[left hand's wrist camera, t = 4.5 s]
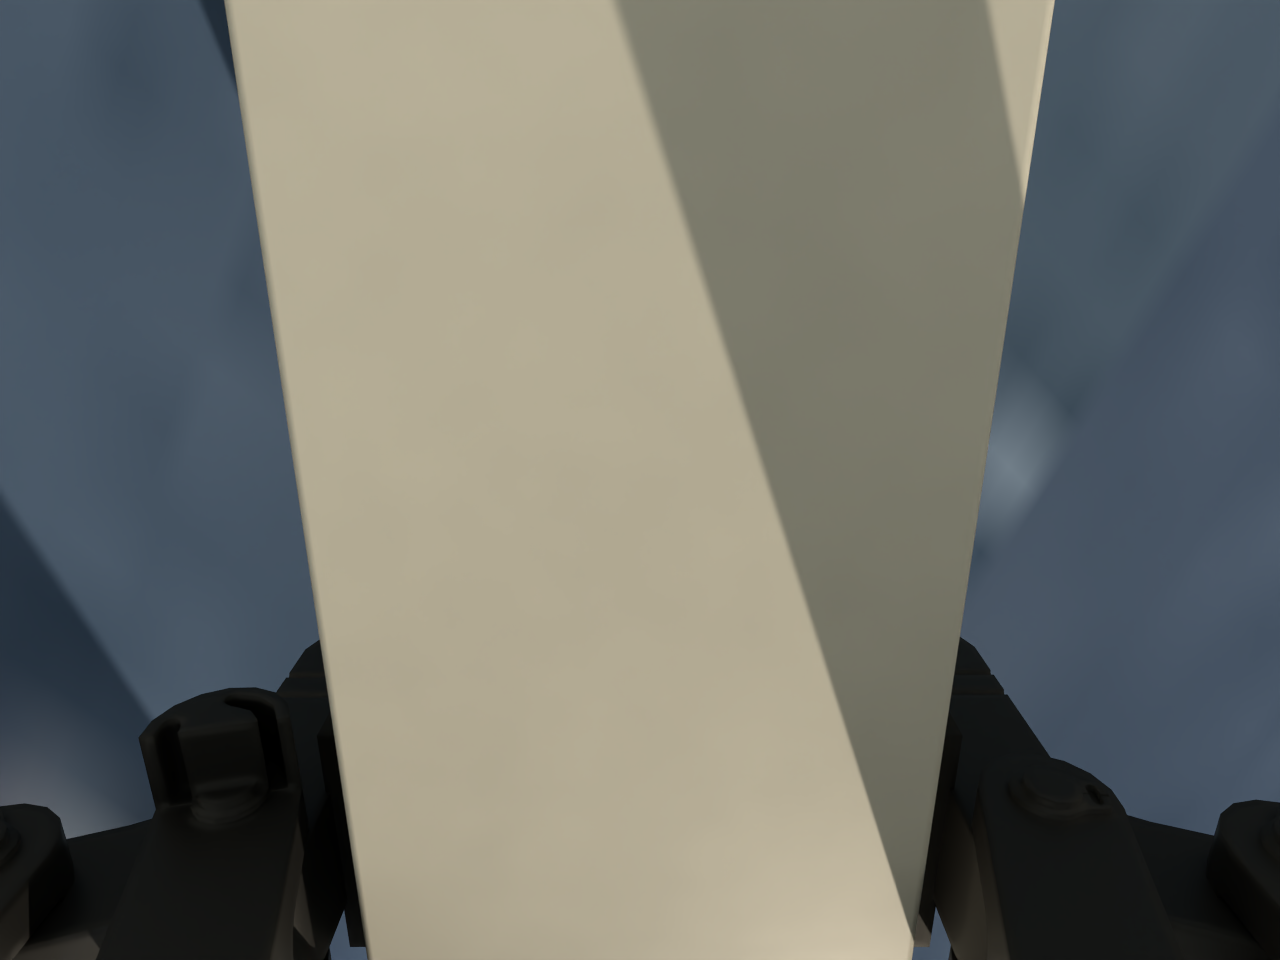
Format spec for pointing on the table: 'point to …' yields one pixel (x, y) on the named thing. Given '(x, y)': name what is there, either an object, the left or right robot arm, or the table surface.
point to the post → (639, 446)
